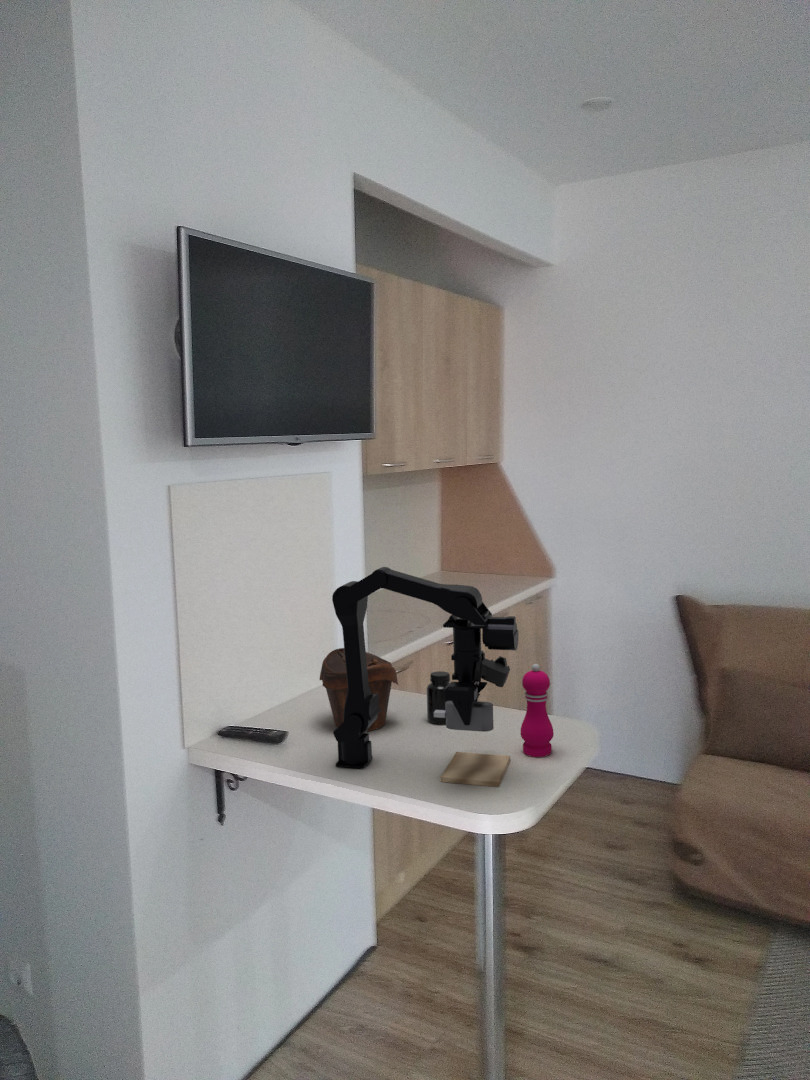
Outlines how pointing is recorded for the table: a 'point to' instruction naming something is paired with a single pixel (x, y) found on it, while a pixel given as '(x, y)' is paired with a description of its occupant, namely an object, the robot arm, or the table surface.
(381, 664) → the brown tapered rounded piece
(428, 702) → the supplement bottle
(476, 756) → the cork mat
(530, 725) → the pepper mill
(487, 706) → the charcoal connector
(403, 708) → the table surface
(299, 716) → the table surface
